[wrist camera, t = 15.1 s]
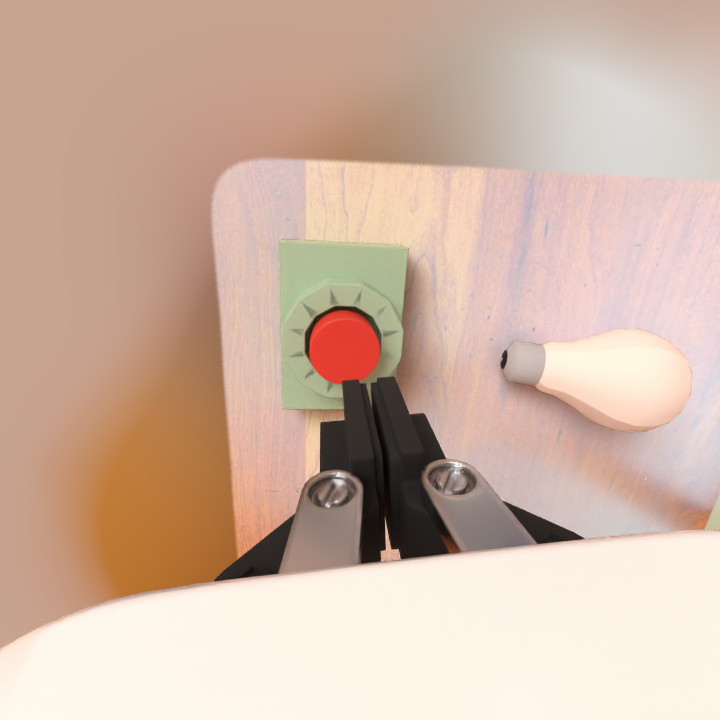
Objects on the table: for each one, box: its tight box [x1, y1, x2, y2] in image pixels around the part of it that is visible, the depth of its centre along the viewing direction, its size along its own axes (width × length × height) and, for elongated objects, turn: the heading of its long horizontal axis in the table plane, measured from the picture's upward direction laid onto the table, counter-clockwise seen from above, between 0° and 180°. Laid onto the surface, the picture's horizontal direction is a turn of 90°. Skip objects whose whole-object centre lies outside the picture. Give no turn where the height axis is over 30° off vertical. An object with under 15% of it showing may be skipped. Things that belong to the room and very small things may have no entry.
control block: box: [279, 239, 409, 409], centre depth 22 cm, size 10×7×4 cm
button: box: [309, 310, 380, 384], centre depth 20 cm, size 4×4×2 cm
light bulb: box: [500, 329, 692, 432], centre depth 24 cm, size 7×7×11 cm
